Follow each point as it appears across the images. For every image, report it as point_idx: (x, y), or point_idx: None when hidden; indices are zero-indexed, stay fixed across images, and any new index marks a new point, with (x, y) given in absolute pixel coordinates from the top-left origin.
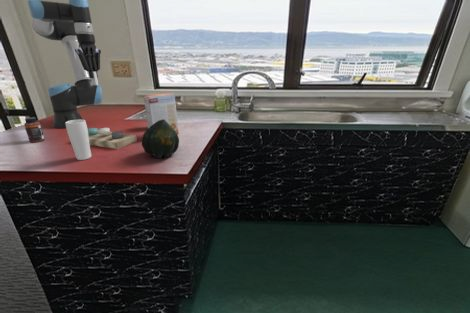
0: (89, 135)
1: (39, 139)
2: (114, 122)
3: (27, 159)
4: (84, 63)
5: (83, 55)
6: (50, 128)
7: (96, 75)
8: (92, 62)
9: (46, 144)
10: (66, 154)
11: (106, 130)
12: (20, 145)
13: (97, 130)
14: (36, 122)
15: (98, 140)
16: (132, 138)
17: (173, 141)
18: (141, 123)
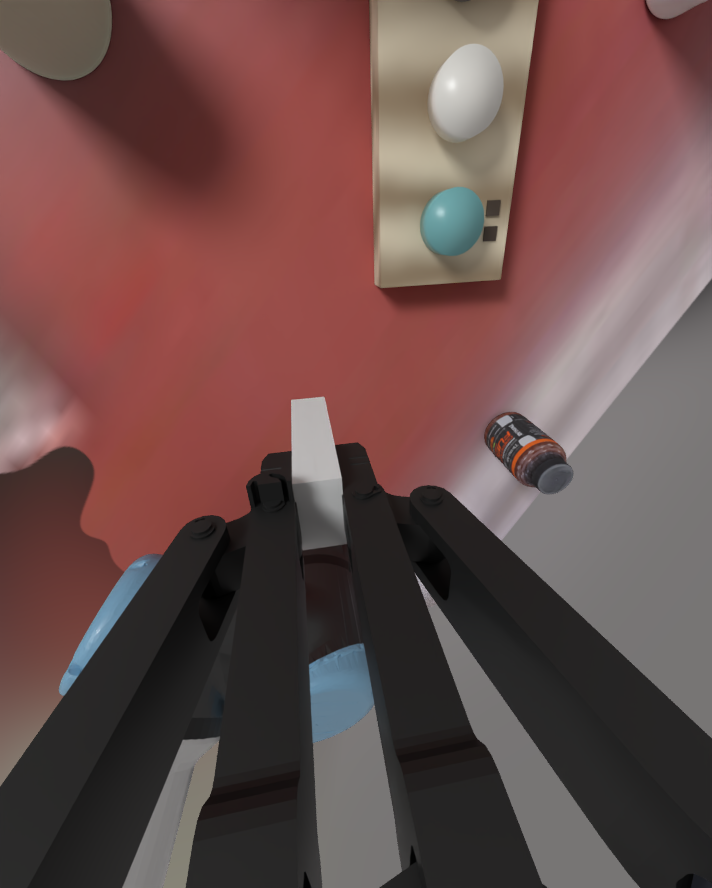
0: None
1: (517, 414)
2: (160, 424)
3: (677, 247)
4: (520, 572)
5: (658, 753)
6: None
7: (295, 452)
8: (302, 640)
9: (529, 361)
10: (627, 141)
11: (482, 46)
12: (552, 428)
13: (437, 195)
14: (542, 452)
15: (528, 63)
16: None
17: None
18: (51, 251)
